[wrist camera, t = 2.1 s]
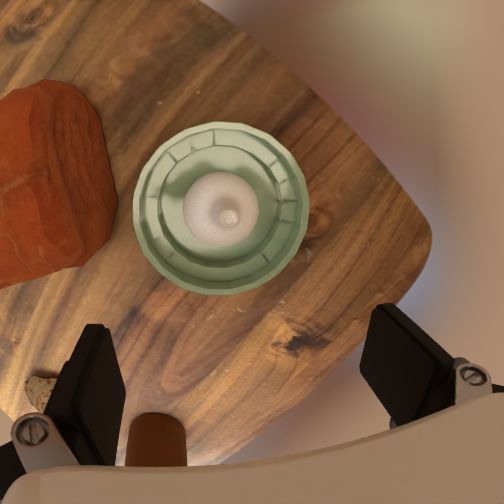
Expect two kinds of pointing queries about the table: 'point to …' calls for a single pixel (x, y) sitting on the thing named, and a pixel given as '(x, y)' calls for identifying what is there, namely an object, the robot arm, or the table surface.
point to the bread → (51, 182)
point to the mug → (156, 442)
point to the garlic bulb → (220, 209)
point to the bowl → (211, 160)
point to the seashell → (39, 391)
